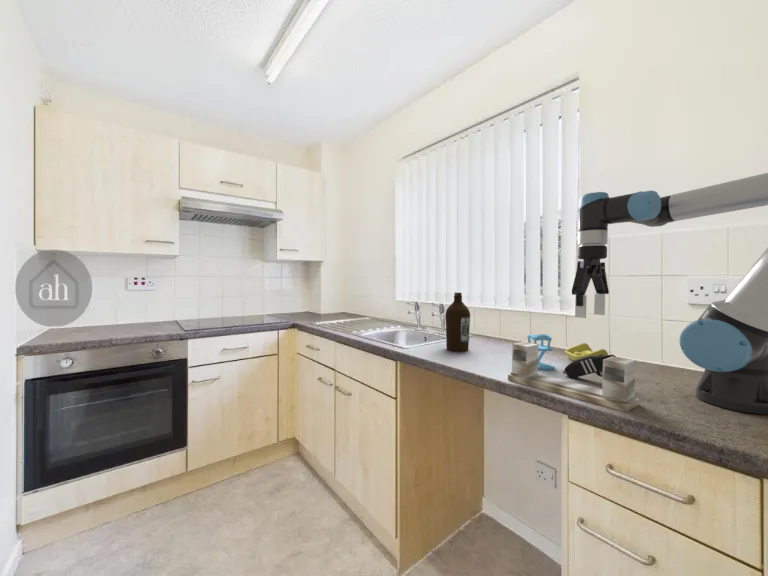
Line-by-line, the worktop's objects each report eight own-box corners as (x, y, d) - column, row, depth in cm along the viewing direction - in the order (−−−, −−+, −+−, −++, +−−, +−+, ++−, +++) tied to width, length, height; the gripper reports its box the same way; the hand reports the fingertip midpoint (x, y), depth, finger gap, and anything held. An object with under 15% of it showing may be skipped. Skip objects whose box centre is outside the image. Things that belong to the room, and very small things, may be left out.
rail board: (639, 404, 83) (640, 360, 82) (627, 412, 78) (628, 365, 78) (522, 375, 107) (522, 341, 107) (507, 379, 103) (508, 343, 102)
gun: (576, 394, 106) (562, 363, 110) (630, 382, 94) (612, 348, 98) (572, 396, 104) (557, 365, 108) (627, 384, 93) (609, 350, 96)
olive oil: (440, 349, 146) (440, 292, 146) (453, 346, 154) (454, 291, 153) (461, 353, 139) (462, 293, 138) (474, 349, 147) (475, 292, 146)
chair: (543, 363, 123) (543, 331, 122) (555, 369, 114) (556, 334, 114) (522, 363, 123) (523, 331, 122) (533, 369, 114) (533, 334, 114)
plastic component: (563, 350, 135) (588, 341, 133) (572, 367, 134) (597, 358, 131) (578, 358, 115) (608, 347, 113) (589, 378, 114) (619, 367, 112)
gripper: (595, 249, 111) (593, 312, 112) (559, 243, 96) (558, 317, 97) (621, 247, 105) (619, 314, 106) (588, 241, 90) (586, 320, 91)
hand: (590, 316), depth 101 cm, fingers open, 13 cm apart
